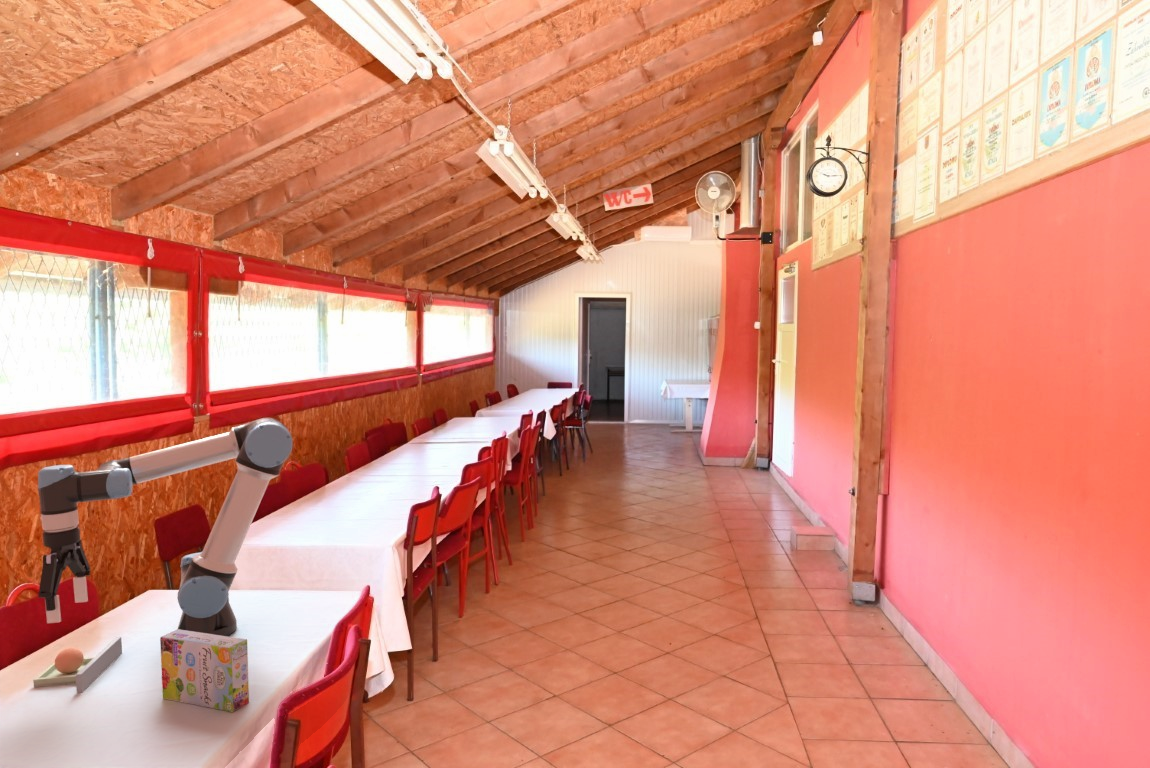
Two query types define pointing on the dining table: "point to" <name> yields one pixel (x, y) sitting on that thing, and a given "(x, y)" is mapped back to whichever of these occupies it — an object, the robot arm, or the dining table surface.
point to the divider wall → (98, 665)
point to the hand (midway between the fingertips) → (68, 611)
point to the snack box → (205, 669)
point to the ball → (69, 660)
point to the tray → (58, 675)
